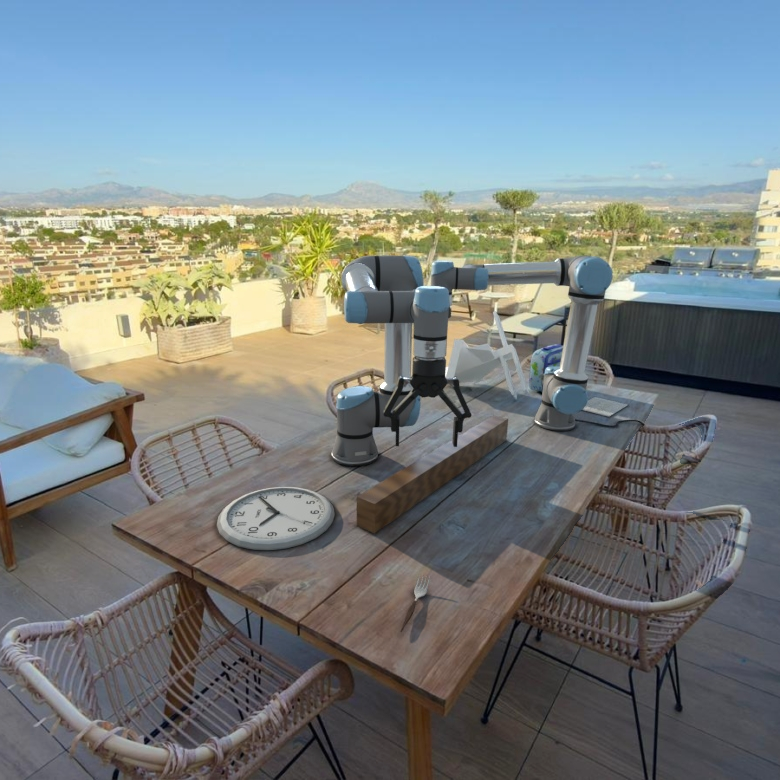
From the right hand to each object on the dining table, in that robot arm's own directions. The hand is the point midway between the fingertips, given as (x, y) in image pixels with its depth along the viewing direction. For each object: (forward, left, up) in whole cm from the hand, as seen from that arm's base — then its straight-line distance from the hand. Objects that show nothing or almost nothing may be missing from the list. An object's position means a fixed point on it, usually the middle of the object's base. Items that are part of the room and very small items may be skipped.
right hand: (438, 365), depth 189 cm
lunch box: (-52, -62, -25) cm, 85 cm away
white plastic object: (-19, -51, -25) cm, 60 cm away
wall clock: (+39, +68, -25) cm, 82 cm away
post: (-4, +37, -25) cm, 45 cm away
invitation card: (-70, -39, -25) cm, 84 cm away
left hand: (+1, +70, -1) cm, 70 cm away
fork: (+1, +97, -25) cm, 100 cm away
